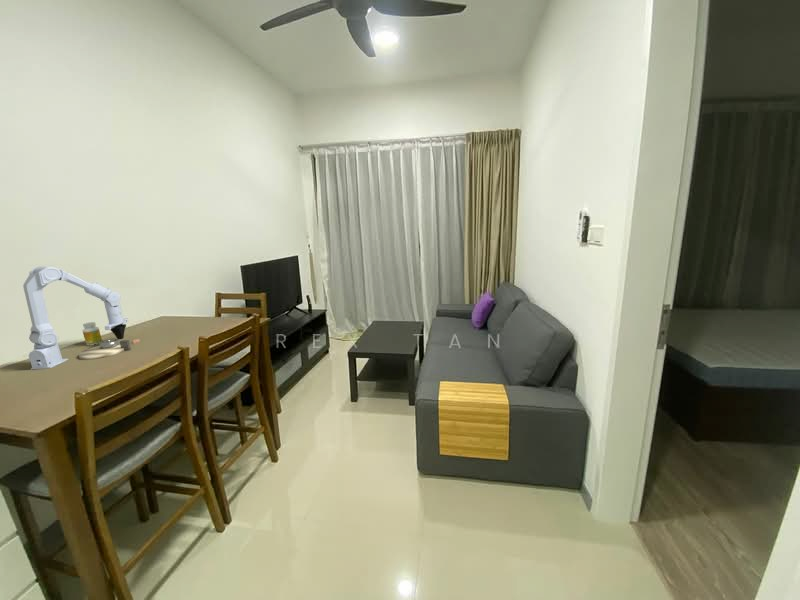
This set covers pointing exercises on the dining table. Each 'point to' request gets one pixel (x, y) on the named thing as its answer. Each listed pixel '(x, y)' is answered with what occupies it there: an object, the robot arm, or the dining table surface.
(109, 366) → the dining table surface
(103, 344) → the cover
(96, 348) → the turntable
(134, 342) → the peach rectangular brick
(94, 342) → the supplement bottle
